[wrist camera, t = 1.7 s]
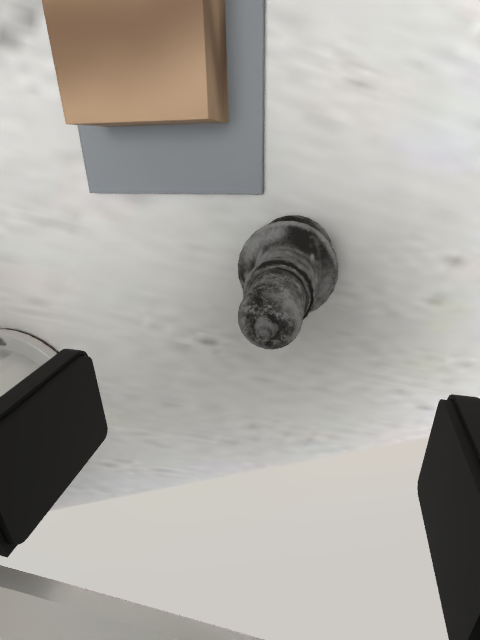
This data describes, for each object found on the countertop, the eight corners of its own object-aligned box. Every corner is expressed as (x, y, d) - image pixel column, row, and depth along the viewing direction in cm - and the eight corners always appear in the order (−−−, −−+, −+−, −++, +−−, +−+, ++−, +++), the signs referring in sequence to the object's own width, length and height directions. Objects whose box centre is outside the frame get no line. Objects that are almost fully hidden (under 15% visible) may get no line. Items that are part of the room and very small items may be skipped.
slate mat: (263, 193, 24) (261, 194, 23) (94, 191, 26) (89, 192, 26) (266, -179, 17) (263, -189, 16) (37, -132, 19) (29, -140, 19)
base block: (228, 122, 22) (208, 118, 18) (105, 126, 24) (65, 124, 20) (223, -61, 18) (197, -108, 15) (80, -41, 20) (26, -79, 17)
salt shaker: (257, 300, 27) (208, 402, 16) (242, 218, 25) (173, 275, 14) (341, 291, 25) (346, 398, 15) (333, 203, 23) (332, 254, 12)
